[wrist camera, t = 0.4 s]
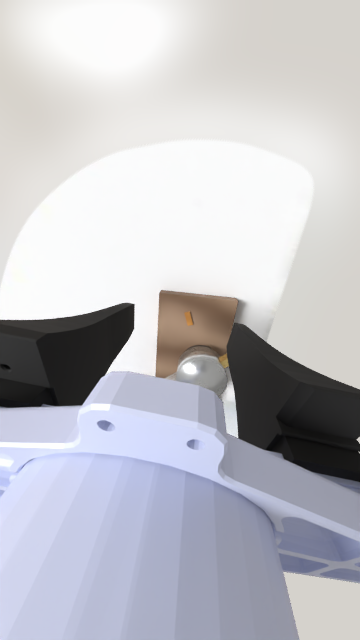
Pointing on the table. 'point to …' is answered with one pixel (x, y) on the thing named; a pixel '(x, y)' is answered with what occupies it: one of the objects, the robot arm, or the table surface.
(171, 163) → the table surface
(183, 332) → the mounting board
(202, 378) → the silver saucepan
